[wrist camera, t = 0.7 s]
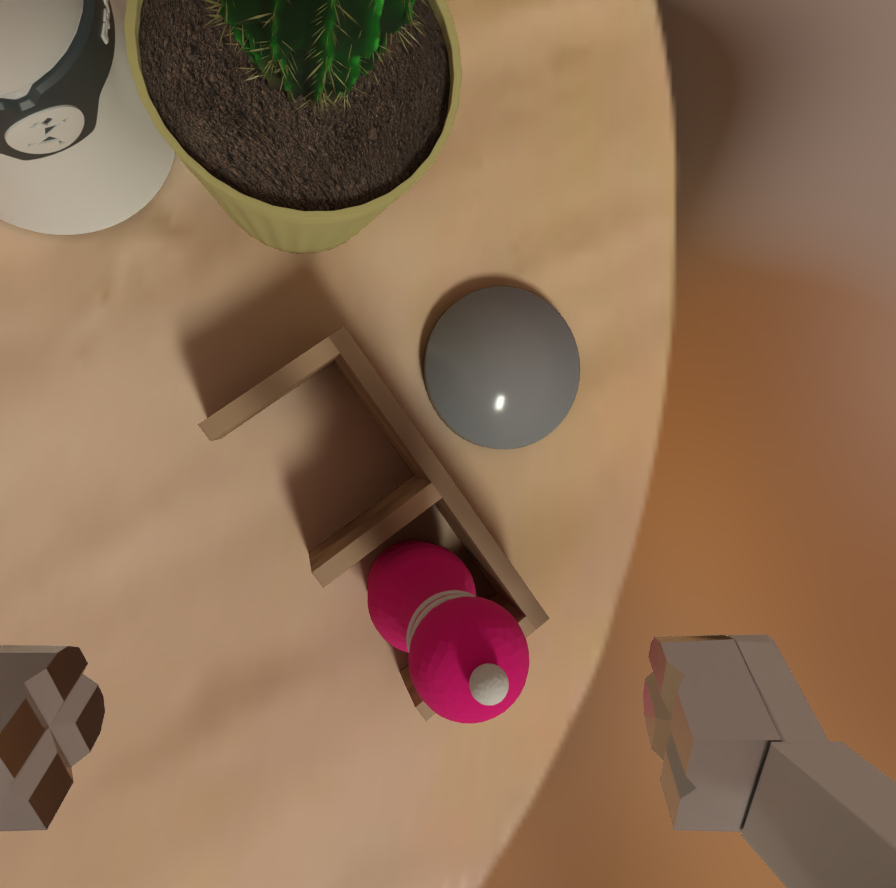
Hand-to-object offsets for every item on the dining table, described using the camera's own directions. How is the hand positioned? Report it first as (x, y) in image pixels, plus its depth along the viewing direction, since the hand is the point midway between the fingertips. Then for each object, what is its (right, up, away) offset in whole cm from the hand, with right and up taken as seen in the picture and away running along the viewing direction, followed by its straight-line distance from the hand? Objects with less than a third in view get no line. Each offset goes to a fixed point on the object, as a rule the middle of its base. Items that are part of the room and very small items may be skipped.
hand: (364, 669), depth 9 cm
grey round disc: (+5, +9, +39) cm, 41 cm away
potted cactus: (-9, +22, +35) cm, 43 cm away
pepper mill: (-2, -7, +38) cm, 39 cm away
